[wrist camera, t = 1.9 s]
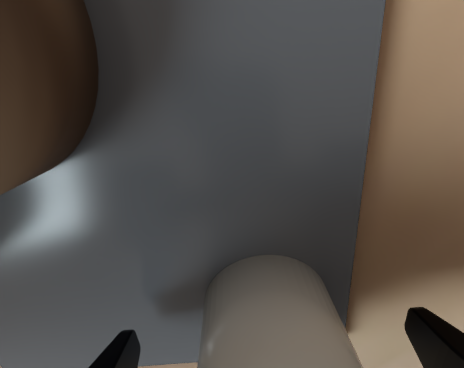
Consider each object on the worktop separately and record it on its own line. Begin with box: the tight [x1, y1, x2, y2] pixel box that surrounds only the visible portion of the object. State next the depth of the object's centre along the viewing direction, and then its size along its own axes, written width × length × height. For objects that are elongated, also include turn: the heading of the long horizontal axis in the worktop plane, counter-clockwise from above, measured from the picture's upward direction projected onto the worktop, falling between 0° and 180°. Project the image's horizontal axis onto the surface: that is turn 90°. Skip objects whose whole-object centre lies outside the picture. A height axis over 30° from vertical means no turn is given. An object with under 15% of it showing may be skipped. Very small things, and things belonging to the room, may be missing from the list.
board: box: [0, 0, 386, 368], centre depth 7 cm, size 16×14×1 cm
